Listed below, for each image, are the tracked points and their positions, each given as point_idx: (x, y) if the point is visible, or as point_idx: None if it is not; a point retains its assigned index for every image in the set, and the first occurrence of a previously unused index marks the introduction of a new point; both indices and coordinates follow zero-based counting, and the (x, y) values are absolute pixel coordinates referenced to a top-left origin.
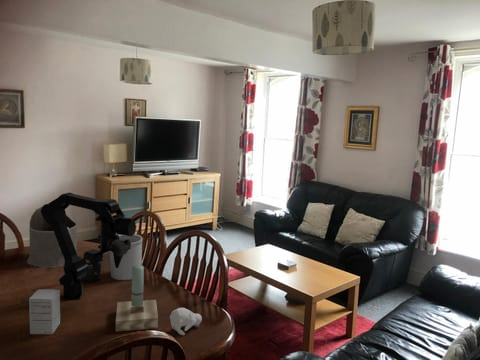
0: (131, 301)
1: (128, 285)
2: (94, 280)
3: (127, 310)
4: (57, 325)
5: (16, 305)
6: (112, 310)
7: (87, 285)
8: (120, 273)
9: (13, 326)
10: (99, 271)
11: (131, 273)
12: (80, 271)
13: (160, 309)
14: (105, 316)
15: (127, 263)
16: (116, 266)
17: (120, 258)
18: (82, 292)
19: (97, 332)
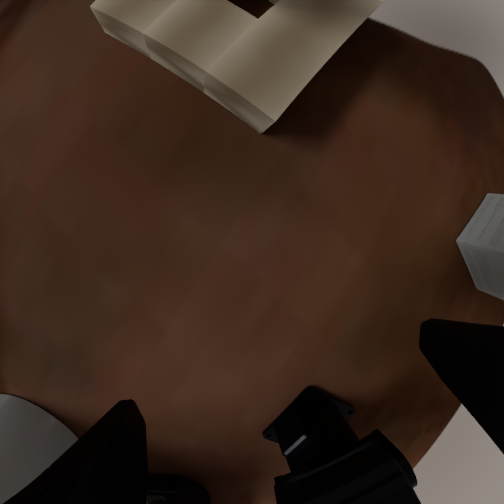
0: (203, 66)
1: (51, 364)
2: (167, 477)
3: (294, 8)
4: (474, 219)
5: (433, 424)
6: (268, 171)
7: (208, 465)
8: (58, 447)
9: (499, 313)
10: (476, 325)
11: (13, 416)
12: (367, 486)
13: (91, 23)
14: (328, 145)
15: (11, 463)
16: (138, 425)
17: (56, 491)
18: (280, 418)
19: (408, 73)
